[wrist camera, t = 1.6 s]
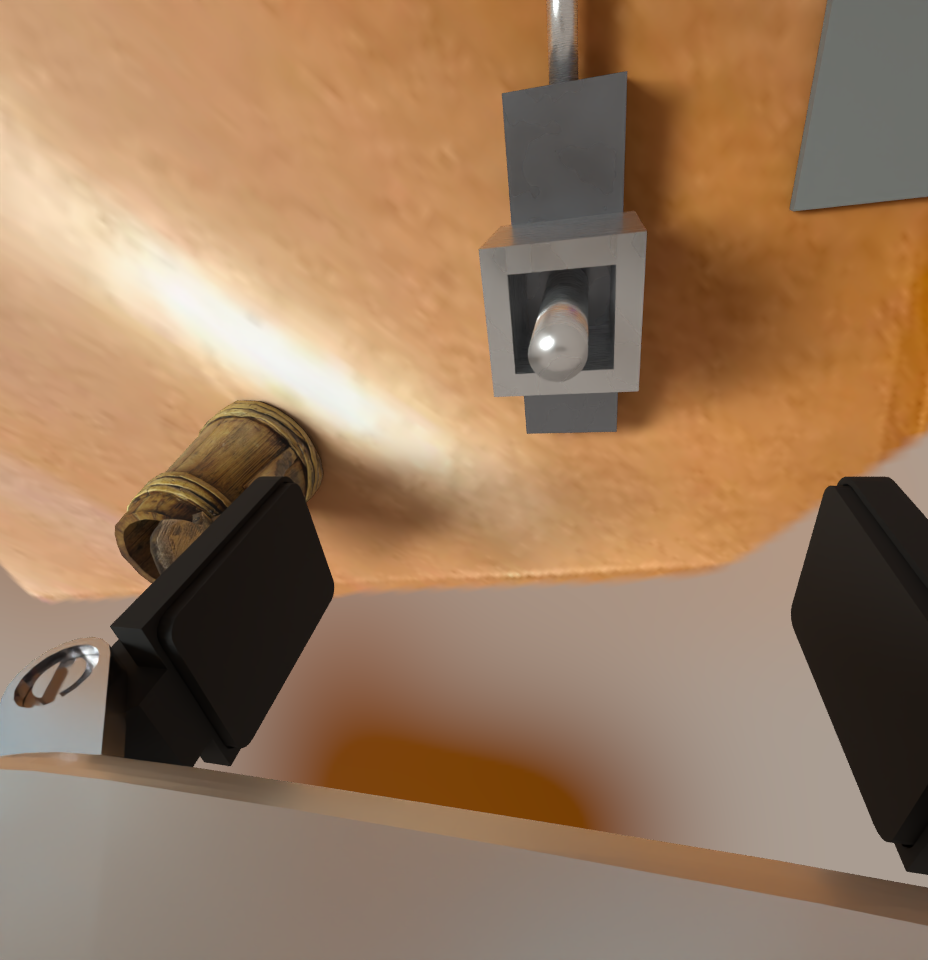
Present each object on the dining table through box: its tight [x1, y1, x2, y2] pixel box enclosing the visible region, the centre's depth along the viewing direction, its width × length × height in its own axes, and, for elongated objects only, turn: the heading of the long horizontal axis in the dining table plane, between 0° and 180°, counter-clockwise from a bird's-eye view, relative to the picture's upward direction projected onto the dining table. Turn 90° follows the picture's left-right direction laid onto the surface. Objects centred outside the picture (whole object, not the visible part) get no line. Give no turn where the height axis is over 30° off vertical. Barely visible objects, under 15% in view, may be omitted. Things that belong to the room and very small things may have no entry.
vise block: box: [502, 0, 627, 434], centre depth 21 cm, size 21×5×12 cm, turn 8°
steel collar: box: [479, 211, 647, 397], centre depth 23 cm, size 6×6×6 cm
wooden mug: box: [115, 400, 323, 583], centre depth 30 cm, size 9×14×18 cm, turn 116°
